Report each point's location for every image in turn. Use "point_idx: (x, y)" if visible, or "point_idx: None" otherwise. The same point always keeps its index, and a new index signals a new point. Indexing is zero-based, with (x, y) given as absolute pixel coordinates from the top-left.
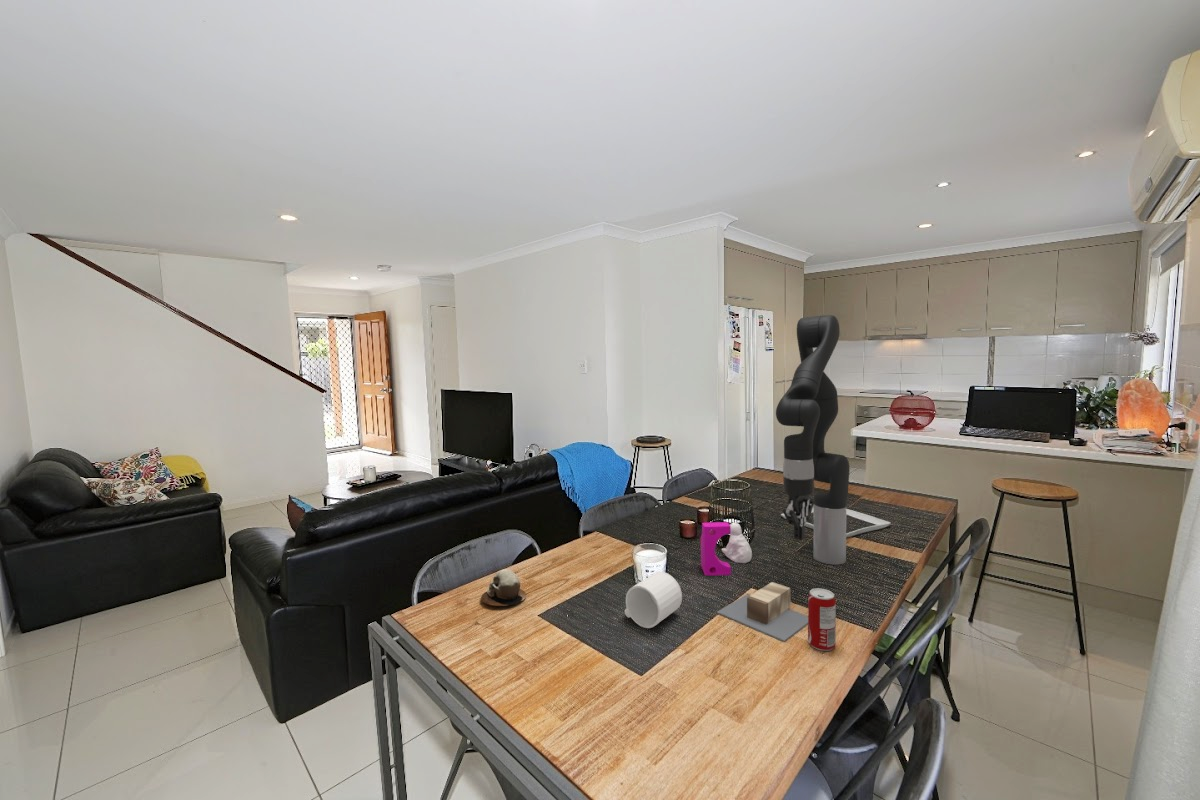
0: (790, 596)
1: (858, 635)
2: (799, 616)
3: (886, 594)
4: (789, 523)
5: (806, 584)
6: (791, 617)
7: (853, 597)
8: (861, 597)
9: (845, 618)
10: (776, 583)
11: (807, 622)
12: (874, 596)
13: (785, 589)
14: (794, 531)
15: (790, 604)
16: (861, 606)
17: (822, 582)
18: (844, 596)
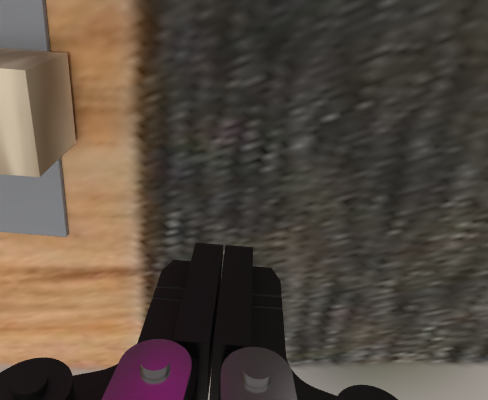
0: (56, 160)
1: (86, 349)
2: (35, 196)
3: (430, 345)
4: (2, 380)
5: (359, 103)
6: (2, 178)
7: (340, 279)
8: (357, 297)
9: None
10: (27, 99)
11: (18, 232)
12: (391, 323)
13: (2, 165)
14: (151, 306)
15: (71, 146)
16: (283, 313)
17: (422, 151)
18: (330, 255)
